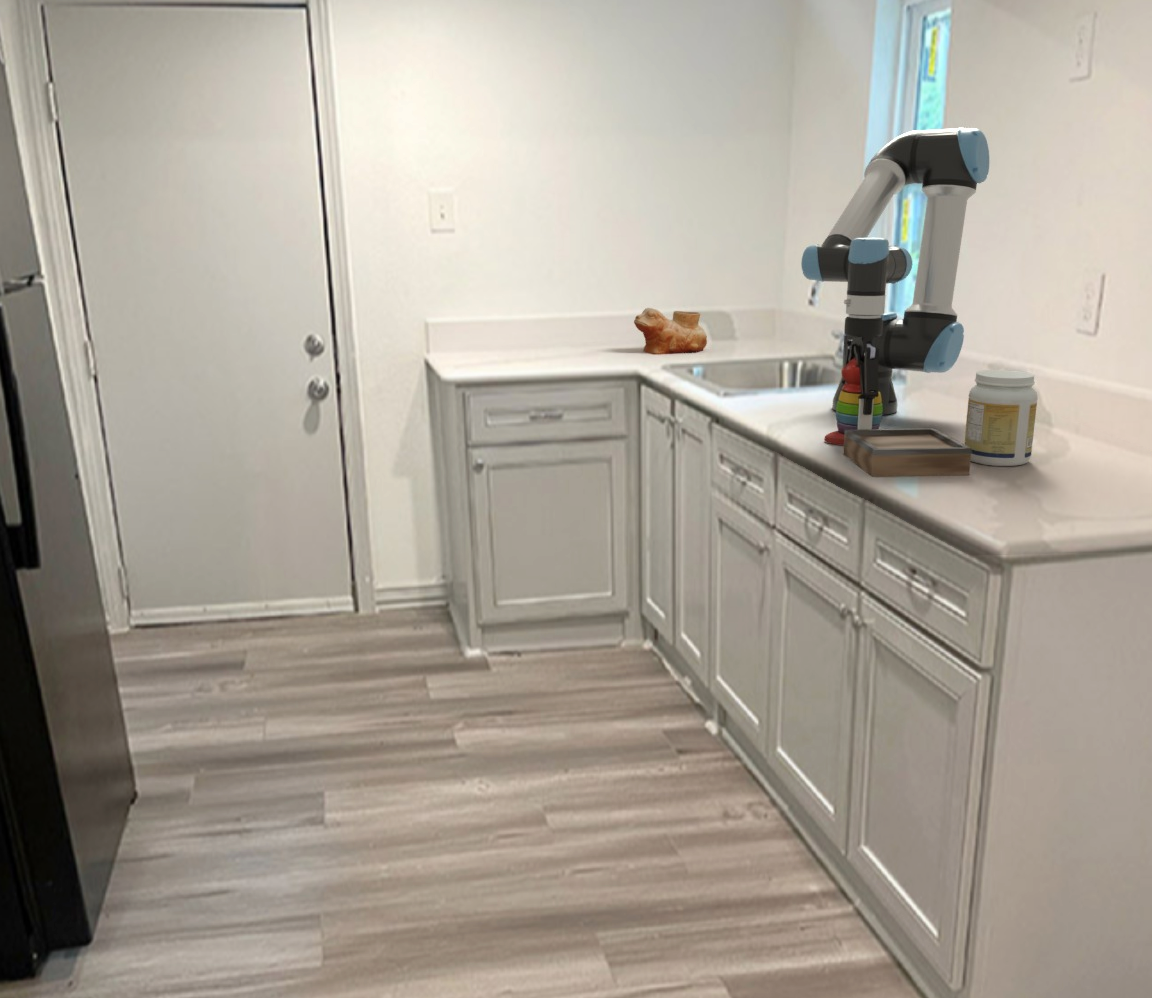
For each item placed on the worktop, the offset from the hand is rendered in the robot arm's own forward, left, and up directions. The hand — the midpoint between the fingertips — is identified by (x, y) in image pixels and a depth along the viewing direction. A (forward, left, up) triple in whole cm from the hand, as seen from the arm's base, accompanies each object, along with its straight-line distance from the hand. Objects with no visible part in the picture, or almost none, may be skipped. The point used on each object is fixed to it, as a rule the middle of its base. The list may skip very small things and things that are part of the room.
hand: (856, 424), depth 218 cm
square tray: (+20, +3, -4) cm, 20 cm away
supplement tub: (+18, +22, -4) cm, 29 cm away
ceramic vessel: (-145, -19, -4) cm, 146 cm away
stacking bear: (0, 0, -4) cm, 4 cm away
